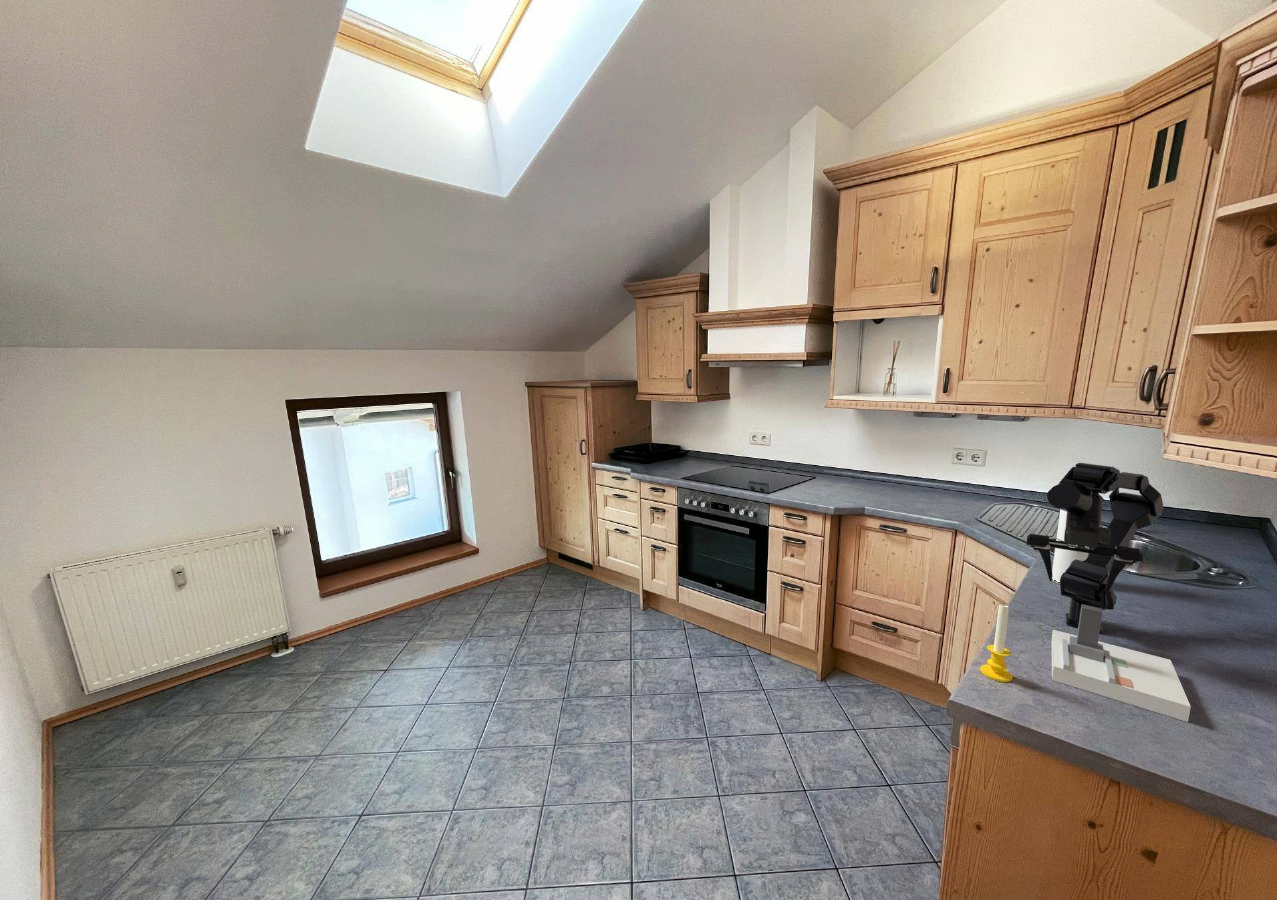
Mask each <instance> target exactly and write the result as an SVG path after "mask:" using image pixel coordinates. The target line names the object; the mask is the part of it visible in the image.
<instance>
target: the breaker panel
mask: <svg viewBox="0 0 1277 900" xmlns="http://www.w3.org/2000/svg"><path fill="white" fill-rule="evenodd" d="M1070 636H1072V637H1076V638H1077V634H1076V635H1075V634H1072V633H1067V632H1064V631H1061V630H1060V631H1059V630H1056V629H1052V635H1051V641H1050V643H1051V644H1050V645H1051V680H1052V681H1055V682H1057V683H1061V684H1064V685H1066V686H1070V687H1072V688H1073V687H1074V688H1076V689H1079V690H1083V691H1086V692H1090V693H1093V694H1096V695H1099V696H1102V697H1105V698H1109V699H1112V700H1115V701H1118V702H1121V703H1125V704H1128V705H1131V706H1134V707H1138V708H1141V709H1145V710H1148V711H1151V712H1153V713H1157V714H1161V715H1164V716H1167V717H1170V718H1174V719H1175V720H1180V721H1183V722H1187V723H1188V722H1189V717H1190V712H1191V704H1190V702H1189V699H1188V697H1187V694H1186V693H1185V690H1184V688H1183V685H1182V683H1181V681H1180V679H1179V676H1178V674H1177V672H1176V669H1175V667H1174V665H1173V662H1172V661H1171V659H1168V658H1165V657H1160V656H1158V655H1153V654H1149V653H1147V652H1146V653H1145V652H1142V651H1137V650H1133V649H1130V648H1125V647H1122V646H1118V645H1113V644H1111V643H1106V642H1102V641H1099V640H1098V643H1099V644H1103V649H1104V658H1103V662H1101V661H1097V660H1094V659H1090V658H1087V657H1083V656H1079V655H1076V654H1072V653H1069V639H1070Z"/></svg>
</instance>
